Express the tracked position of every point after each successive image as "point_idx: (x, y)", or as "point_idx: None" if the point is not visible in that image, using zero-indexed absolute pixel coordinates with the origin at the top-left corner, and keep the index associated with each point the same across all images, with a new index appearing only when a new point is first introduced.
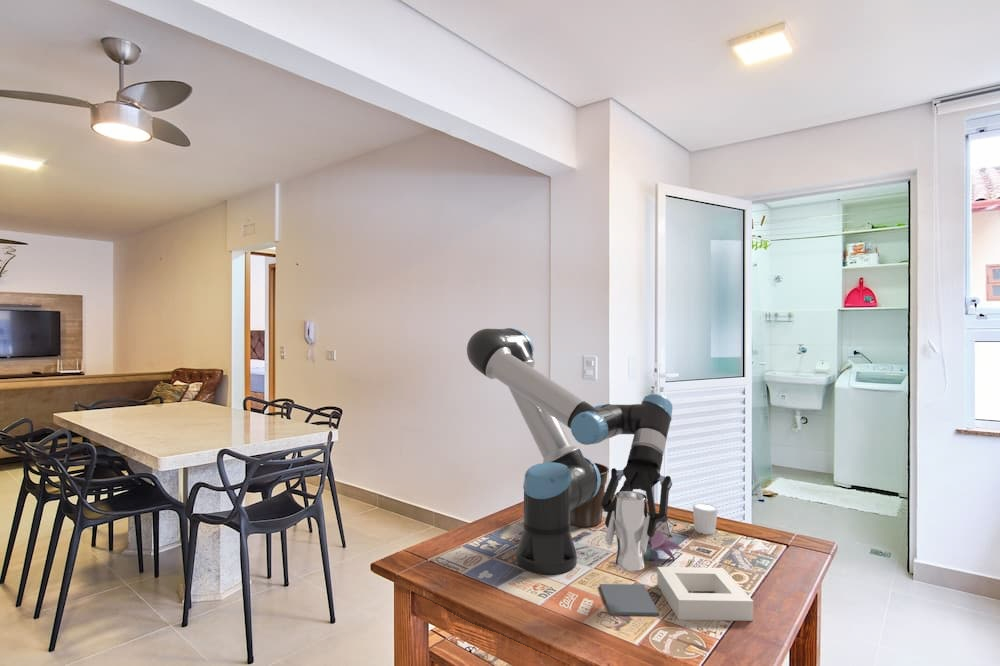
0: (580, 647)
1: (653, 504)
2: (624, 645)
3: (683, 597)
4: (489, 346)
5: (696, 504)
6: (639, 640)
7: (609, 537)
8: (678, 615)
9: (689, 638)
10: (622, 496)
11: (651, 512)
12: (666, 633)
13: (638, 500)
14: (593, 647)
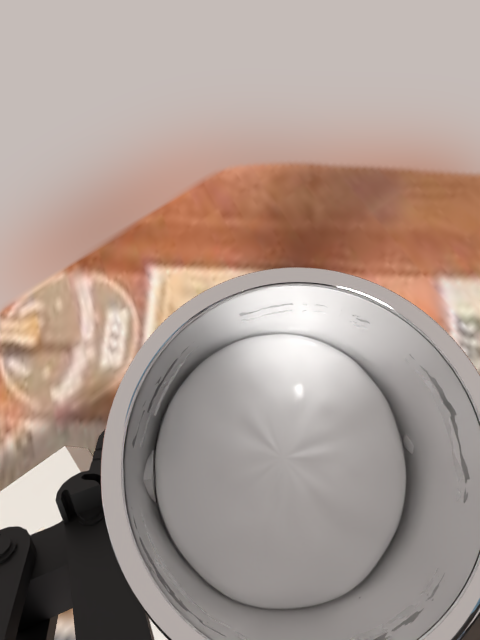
0: (252, 185)
1: (79, 633)
2: (174, 246)
3: (55, 476)
4: None
5: None
6: (151, 285)
7: None
8: (85, 450)
9: (42, 370)
10: (454, 554)
11: (102, 533)
12: (101, 356)
13: (154, 333)
14: (229, 201)
